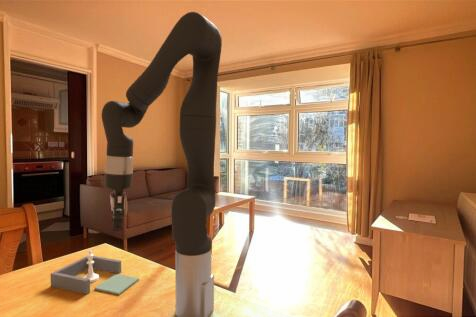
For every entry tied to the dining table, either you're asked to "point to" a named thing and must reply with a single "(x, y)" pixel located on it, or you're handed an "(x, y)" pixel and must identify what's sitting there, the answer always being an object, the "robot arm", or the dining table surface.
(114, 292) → the mat
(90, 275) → the chess piece
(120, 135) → the robot arm
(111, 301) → the dining table surface
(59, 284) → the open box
